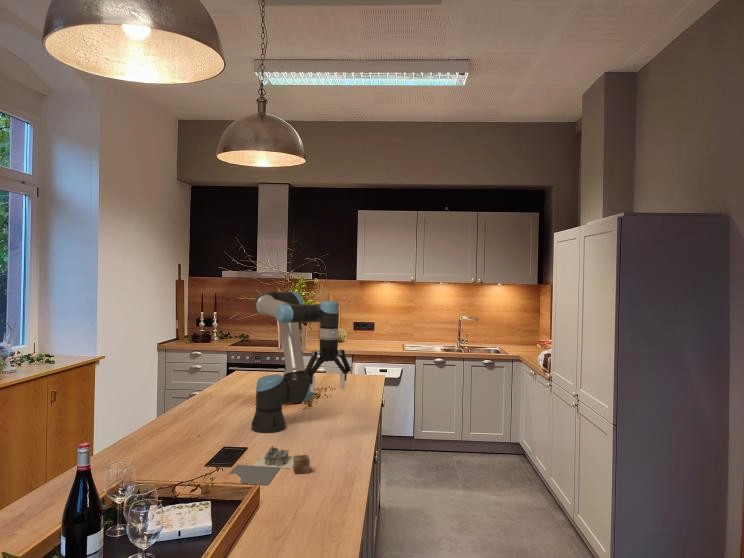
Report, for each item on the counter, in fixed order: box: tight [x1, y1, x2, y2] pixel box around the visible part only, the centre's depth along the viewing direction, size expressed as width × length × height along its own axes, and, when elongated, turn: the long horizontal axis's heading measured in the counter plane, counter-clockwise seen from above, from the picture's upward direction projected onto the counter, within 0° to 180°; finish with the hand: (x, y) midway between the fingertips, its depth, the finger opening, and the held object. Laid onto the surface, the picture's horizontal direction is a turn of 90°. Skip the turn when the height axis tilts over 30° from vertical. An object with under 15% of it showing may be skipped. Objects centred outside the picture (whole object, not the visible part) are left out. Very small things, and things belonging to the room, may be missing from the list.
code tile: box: [253, 454, 294, 470], centre depth 196 cm, size 14×12×1 cm
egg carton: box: [264, 445, 290, 466], centre depth 196 cm, size 11×8×4 cm
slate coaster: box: [227, 464, 282, 486], centre depth 182 cm, size 16×16×1 cm
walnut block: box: [292, 454, 311, 476], centre depth 187 cm, size 5×5×5 cm
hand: (327, 390), depth 217 cm, fingers open, 13 cm apart
